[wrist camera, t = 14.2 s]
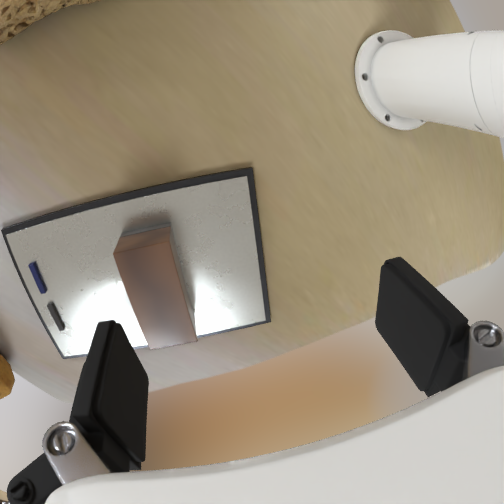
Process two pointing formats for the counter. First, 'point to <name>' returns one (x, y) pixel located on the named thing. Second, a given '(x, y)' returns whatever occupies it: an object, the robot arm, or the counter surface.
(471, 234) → the counter surface
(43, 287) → the stroke navy
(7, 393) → the potato
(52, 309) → the bar
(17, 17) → the sponge
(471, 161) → the counter surface
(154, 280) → the eraser
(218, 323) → the whiteboard
